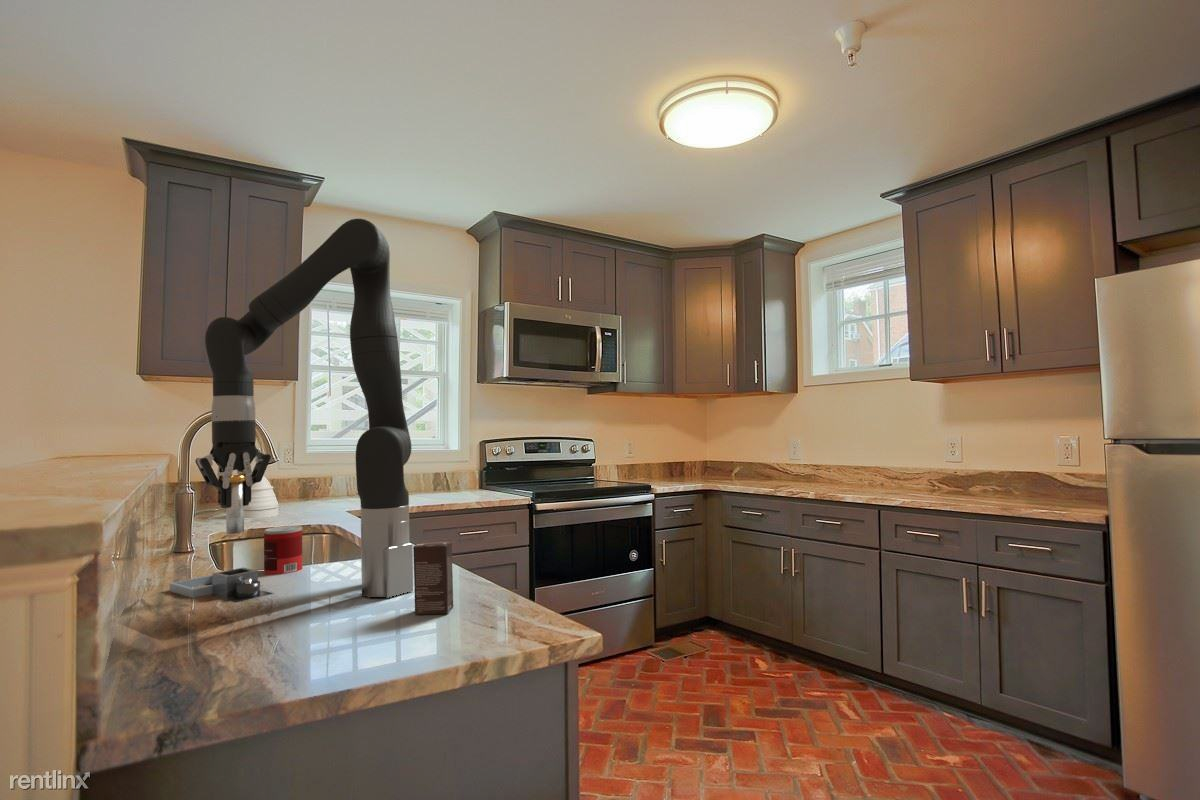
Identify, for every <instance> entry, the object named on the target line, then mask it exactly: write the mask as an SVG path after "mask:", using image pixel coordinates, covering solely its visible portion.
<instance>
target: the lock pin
mask: <svg viewBox="0 0 1200 800" xmlns="http://www.w3.org/2000/svg"><path fill="white" fill-rule="evenodd" d="M243 481H246V480H245V475H238V474H232V476H231V477H230V483H229V487H228V489H230V507H229V508H225V513H226V514H225V515H226V517H225V518H226V522H225V523H226V535H232V534H234V535H235V534H240V533H241V534H242V533H244V532H245V520H244V490H243Z"/></svg>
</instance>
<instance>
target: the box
mask: <svg viewBox="0 0 1200 800" xmlns="http://www.w3.org/2000/svg"><path fill="white" fill-rule="evenodd" d="M452 547H453V543H452V541H440V542H439V541H436V542H435V541H434V542H432V541H431V542H419V543H417V544H415V545H413V592H414V614H415V616H416V615H435V614H446V615H448V614H449V613H451V611H452V609H454V588H453V587H454V586H453V585H454V584H453V583H454V581H453V548H452Z"/></svg>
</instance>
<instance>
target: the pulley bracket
mask: <svg viewBox="0 0 1200 800" xmlns="http://www.w3.org/2000/svg"><path fill="white" fill-rule="evenodd" d="M211 575H213V583H212V585H213V593H212V594H208V596H211V597H215V598H218V599H221V600H225V601H228V602H232V603H240V602H245V601H249V600H253V599H256V598H261V597H265V596H270V595H273V594H274V592H269V591H266V590H262V589H261V581H260V580H259V570H257V569H252V568H247V567H240V568H239V567H238V568H233V569H229V570H223V571H218V572H213V573H212V574H211Z"/></svg>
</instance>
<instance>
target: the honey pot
mask: <svg viewBox="0 0 1200 800" xmlns="http://www.w3.org/2000/svg"><path fill="white" fill-rule="evenodd" d="M279 510H280V508H279V502H278V500H277V497H276V493H275V492H274V486H273V485H271V483H270V481H269V480H268V479H267V478H266V476H265V475H263V478H262V480H261V482H257V483H255V484H253V485H252V486H251V502H249V505H247V506H244V518H262V517H271V516H277V515H280V514H279ZM277 517H278V516H277Z"/></svg>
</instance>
